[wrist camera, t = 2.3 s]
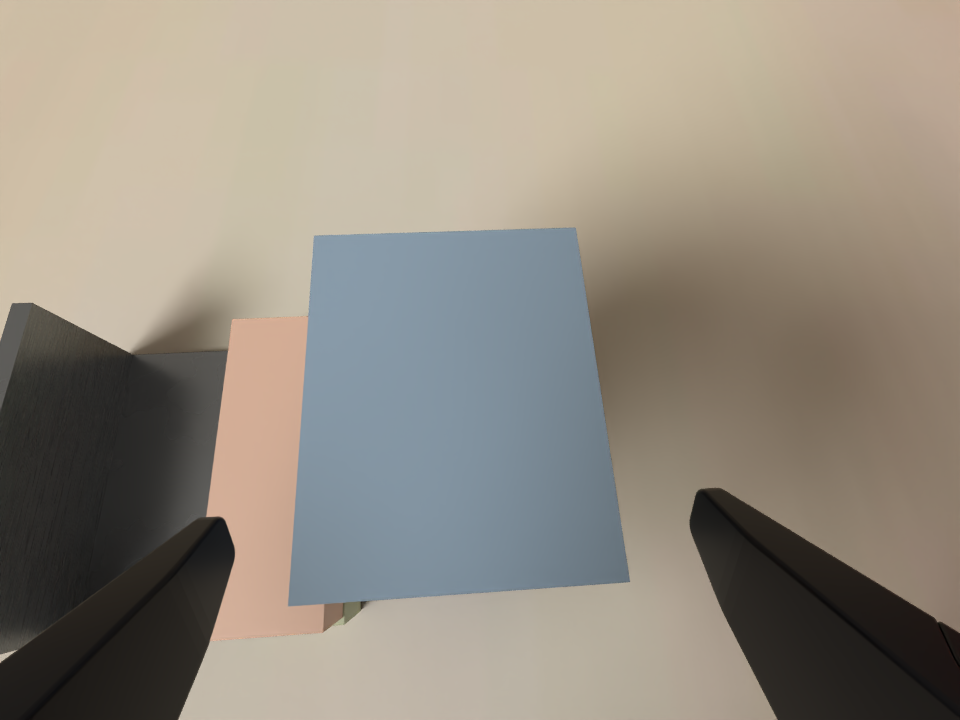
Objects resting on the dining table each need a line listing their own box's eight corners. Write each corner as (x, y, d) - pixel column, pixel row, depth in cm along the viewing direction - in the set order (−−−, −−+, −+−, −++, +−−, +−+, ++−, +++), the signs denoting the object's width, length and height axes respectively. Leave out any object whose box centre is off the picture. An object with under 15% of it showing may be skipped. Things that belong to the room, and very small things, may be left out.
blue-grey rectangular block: (518, 544, 17) (634, 586, 5) (407, 552, 17) (282, 611, 5) (507, 411, 19) (578, 224, 7) (406, 416, 19) (310, 233, 7)
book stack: (360, 611, 16) (324, 641, 12) (256, 618, 16) (182, 652, 12) (366, 347, 20) (340, 298, 15) (280, 351, 19) (229, 303, 15)
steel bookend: (256, 618, 16) (170, 657, 11) (64, 632, 16) (-105, 678, 11) (280, 351, 19) (222, 295, 15) (122, 358, 19) (12, 303, 14)
